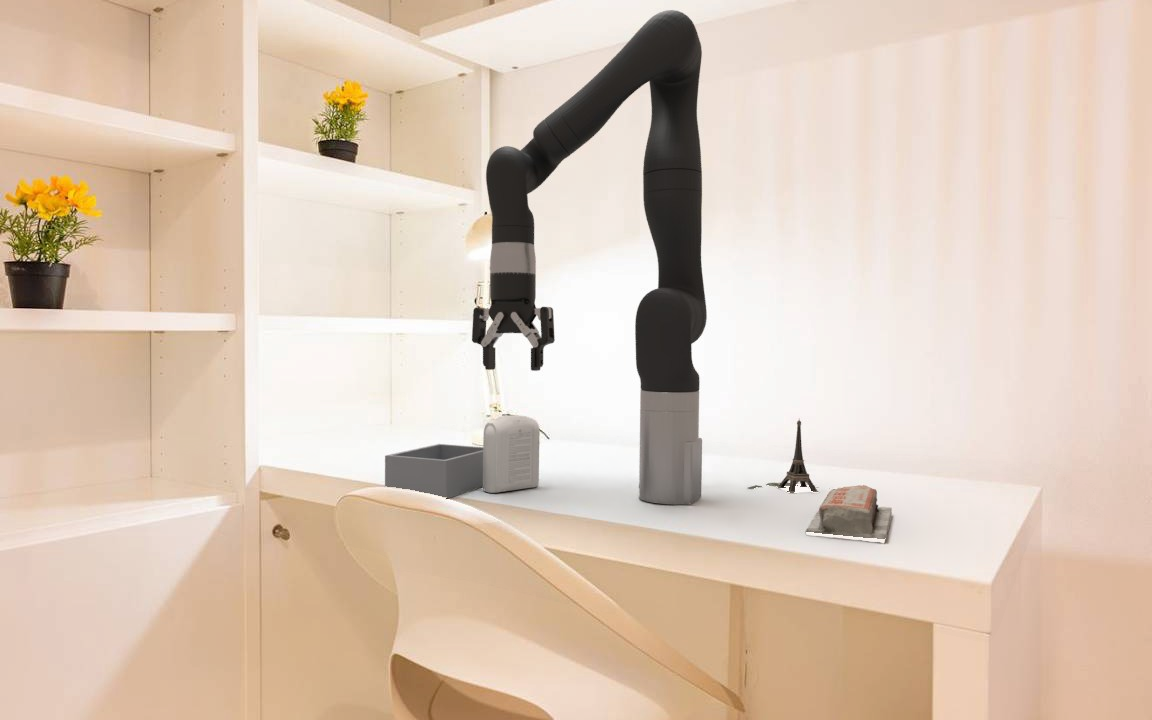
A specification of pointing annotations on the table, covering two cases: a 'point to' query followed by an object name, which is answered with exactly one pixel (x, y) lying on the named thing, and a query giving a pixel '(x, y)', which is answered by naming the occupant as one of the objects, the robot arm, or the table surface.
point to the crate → (436, 469)
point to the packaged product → (852, 514)
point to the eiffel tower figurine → (795, 469)
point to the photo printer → (510, 454)
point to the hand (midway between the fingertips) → (512, 370)
